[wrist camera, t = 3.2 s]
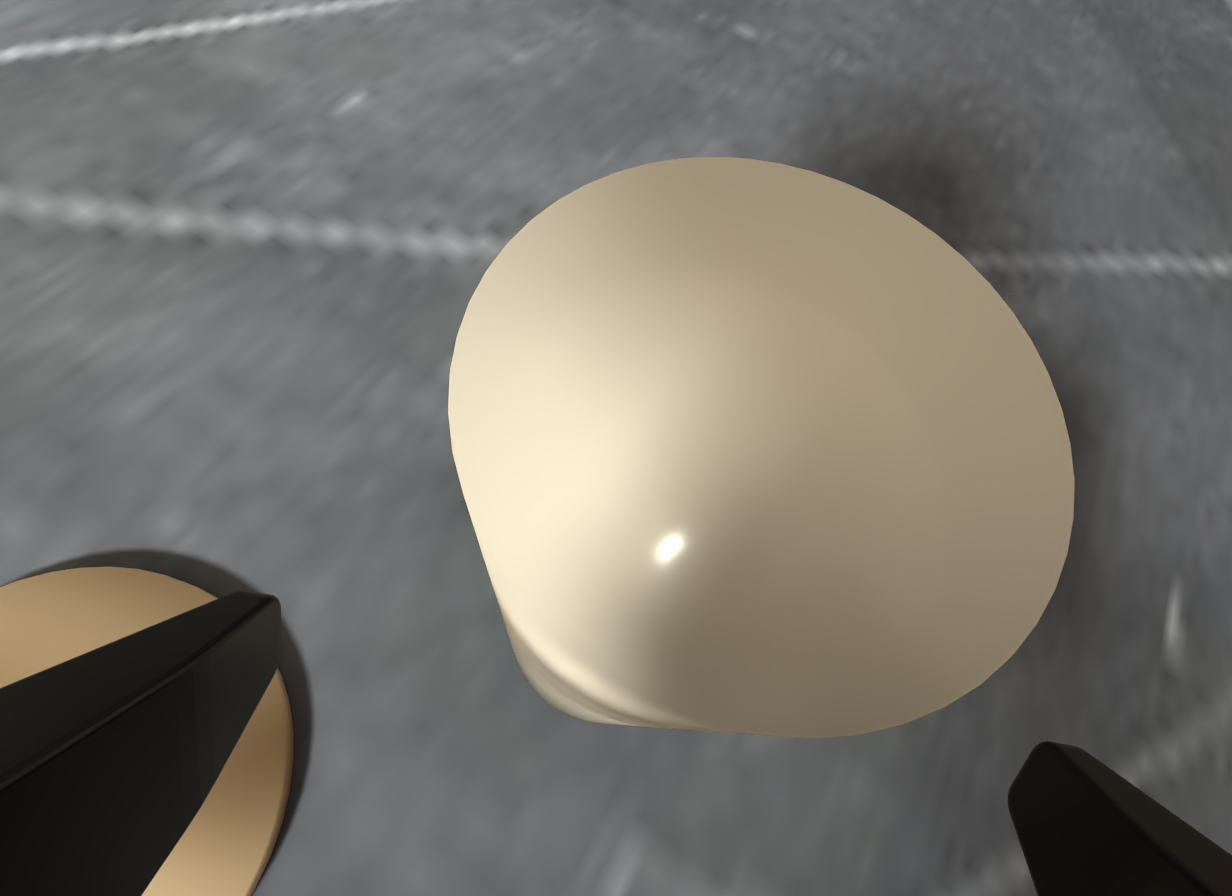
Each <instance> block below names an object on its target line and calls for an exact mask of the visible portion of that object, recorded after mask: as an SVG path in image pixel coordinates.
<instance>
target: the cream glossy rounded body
mask: <svg viewBox="0 0 1232 896" xmlns="http://www.w3.org/2000/svg"><path fill="white" fill-rule="evenodd" d="M448 415H449V424H450V434H451V443H452V452H453V456H454V460H455V464H456V468H457V472H458V476H459V479H460V483H461V487H462V491H463V495H464V498H465V501H466V504H467V507H468V510H469V513H470V517H471V520H472V523H473V526H474V529H475V532H476V535H477V538H478V541H479V545H480V548H481V551H482V554H483V557H484V560H485V563H486V566H487V569H488V573H489V576H490V579H491V582H492V585H493V588H494V591H495V594H496V597H497V601H498V604H499V607H500V610H501V613H502V616H503V619H504V622H505V626H506V629H507V632H508V635H509V638H510V641H511V644H512V647H513V650H514V654H515V657H516V659H517V661H518V664H519V666H520V669H521V670H522V672H523V674H524V676H525V677H526V679H527V681H528V682H529V683H530V685H531V686H532V687H533V688H534V690H535V691H536V692H537V693H538V694H539V695H540V696H541V697H542V698H543V699H544V700H545V701H547V702H548V703H549V704H551V705H552V706H553V707H555V708H556V709H558V710H560V711H561V712H563V713H565V714H567V715H569V716H572V717H575V718H577V719H580V720H584V721H589V722H593V723H607V724H620V725H633V726H646V727H659V728H672V729H685V730H698V731H711V732H724V733H737V734H750V735H763V736H777V737H791V738H805V739H815V738H828V737H841V736H854V735H861V734H865V733H870V732H874V731H878V730H882V729H886V728H890V727H895V726H899V725H903V724H906V723H908V722H911V721H913V720H915V719H918V718H920V717H923V716H925V715H927V714H930V713H932V712H934V711H937V710H939V709H942V708H944V707H946V706H948V705H949V704H951V703H952V702H954V701H955V700H957V699H959V698H960V697H962V696H963V695H965V694H966V693H968V692H970V691H971V690H973V689H974V688H976V687H977V686H979V685H981V684H982V683H983V682H984V681H985V680H986V679H987V678H989V677H990V676H991V675H992V674H993V673H994V672H995V671H996V670H997V669H999V668H1000V667H1001V666H1002V665H1003V664H1004V663H1005V662H1006V661H1007V660H1008V659H1010V658H1011V657H1012V656H1013V654H1014V653H1015V652H1016V650H1017V649H1018V648H1019V647H1020V645H1021V644H1022V643H1023V642H1024V640H1025V639H1026V638H1027V636H1028V635H1029V634H1030V633H1031V631H1032V630H1033V629H1034V627H1035V626H1036V625H1037V623H1038V621H1039V619H1040V617H1041V616H1042V614H1043V612H1044V610H1045V608H1046V606H1047V604H1048V602H1049V601H1050V599H1051V597H1052V595H1053V593H1054V591H1055V589H1056V586H1057V583H1058V580H1059V577H1060V574H1061V571H1062V568H1063V565H1064V562H1065V559H1066V557H1067V553H1068V547H1069V541H1070V535H1071V530H1072V524H1073V518H1074V483H1075V480H1074V471H1073V462H1072V453H1071V445H1070V440H1069V436H1068V432H1067V428H1066V424H1065V420H1064V416H1063V412H1062V408H1061V405H1060V402H1059V400H1058V397H1057V395H1056V392H1055V389H1054V387H1053V384H1052V381H1051V379H1050V376H1049V373H1048V372H1047V370H1046V368H1045V366H1044V364H1043V362H1042V360H1041V358H1040V356H1039V354H1038V352H1037V350H1036V348H1035V346H1034V344H1033V342H1032V341H1031V339H1030V338H1029V336H1028V334H1027V333H1026V331H1025V330H1024V328H1023V327H1022V325H1021V324H1020V322H1019V321H1018V319H1017V318H1016V316H1015V315H1014V313H1013V312H1012V310H1011V309H1010V308H1009V307H1008V305H1007V304H1006V303H1005V302H1004V300H1003V299H1002V298H1001V297H1000V295H999V294H998V293H997V292H996V291H995V289H994V288H993V287H992V286H991V284H990V283H989V282H988V281H987V280H986V279H985V278H984V277H983V276H982V275H981V274H980V273H979V272H978V271H977V270H976V269H975V268H974V267H973V266H972V265H971V264H970V263H969V262H968V261H967V260H966V259H965V258H964V257H963V256H962V255H961V254H959V253H958V252H957V251H956V250H955V249H953V248H952V247H951V246H950V245H949V244H948V243H946V242H945V241H944V240H943V239H942V238H940V237H939V236H938V235H937V234H935V233H934V232H932V231H931V230H930V229H928V228H927V227H925V226H924V225H922V224H921V223H919V222H918V221H917V220H915V219H914V218H912V217H911V216H909V215H908V214H906V213H904V212H903V211H901V210H899V209H897V208H896V207H894V206H892V205H890V204H888V203H887V202H885V201H883V200H881V199H880V198H878V197H876V196H874V195H871V194H869V193H867V192H865V191H863V190H860V189H858V188H856V187H854V186H851V185H849V184H847V183H845V182H842V181H839V180H836V179H833V178H830V177H827V176H824V175H821V174H819V173H816V172H813V171H809V170H805V169H800V168H796V167H792V166H788V165H784V164H780V163H774V162H767V161H760V160H753V159H746V158H726V157H701V158H682V159H674V160H668V161H662V162H655V163H649V164H645V165H641V166H638V167H634V168H630V169H627V170H623V171H619V172H616V173H613V174H611V175H608V176H606V177H603V178H601V179H599V180H596V181H594V182H591V183H589V184H586V185H584V186H583V187H581V188H579V189H577V190H575V191H574V192H572V193H570V194H568V195H566V196H565V197H563V198H561V199H559V200H558V201H556V202H555V203H553V204H552V205H551V206H549V207H548V208H547V209H545V210H544V211H543V212H541V213H540V214H539V215H537V216H536V217H535V218H533V219H532V220H531V221H530V222H529V223H528V224H527V225H525V226H524V227H523V228H522V229H521V230H520V231H519V232H518V233H517V234H516V235H515V236H514V237H513V238H512V239H511V240H510V241H509V242H508V243H507V244H506V246H505V247H504V248H503V250H502V251H501V252H500V254H499V255H498V256H497V258H496V259H495V260H494V261H493V263H492V264H491V265H490V267H489V268H488V269H487V271H486V272H485V274H484V276H483V278H482V280H481V282H480V283H479V285H478V287H477V289H476V291H475V293H474V294H473V296H472V298H471V300H470V302H469V304H468V307H467V310H466V313H465V315H464V318H463V321H462V324H461V326H460V329H459V332H458V335H457V339H456V344H455V349H454V354H453V359H452V364H451V369H450V381H449V404H448Z"/></svg>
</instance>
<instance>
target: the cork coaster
mask: <svg viewBox="0 0 1232 896" xmlns="http://www.w3.org/2000/svg"><path fill="white" fill-rule="evenodd" d="M216 599H218V598H217V597H215V596H213V595H212V594H210V593H208V592H206V591H204V590H203V589H201V588H198V587H196V586H193V585H191V584H188V583H185V582H183V581H180V580H177V579H175V578H172V577H169V576H167V575H163V574H159V573H154V572H150V571H145V570H141V569H133V568H122V567H82V568H75V569H68V570H61V571H54V572H49V573H45V574H41V575H37V576H34V577H30V578H26V579H22V580H19V581H16V582H13V583H10V584H8V585H5V586H2V587H0V688H2V687H4V686H7V685H9V684H11V683H14V682H16V681H19V680H21V679H24V678H26V677H28V676H31V675H33V674H36V673H38V672H41V671H43V670H45V669H48V668H50V667H53V666H55V665H58V664H60V663H62V662H65V661H67V660H70V659H72V658H75V657H77V656H79V655H82V654H84V653H87V652H89V651H92V650H94V649H96V648H99V647H101V646H104V645H106V644H109V643H111V642H113V641H116V640H118V639H121V638H123V637H126V636H128V635H131V634H133V633H135V632H138V631H140V630H143V629H145V628H148V627H150V626H152V625H155V624H157V623H160V622H162V621H165V620H167V619H169V618H172V617H174V616H177V615H179V614H182V613H184V612H186V611H189V610H191V609H194V608H196V607H199V606H201V605H203V604H206V603H208V602H211V601H213V600H216ZM293 763H294V729H293V722H292V715H291V708H290V702H289V698H288V695H287V691H286V688H285V684H284V681H283V677H282V675H281V673H280V671H279V669H278V667H277V670H276V672H275V675H274V677H273V679H272V680H271V682H270V684H269V686H268V688H267V689H266V691H265V693H264V695H263V697H262V699H261V700H260V702H259V704H258V706H257V708H256V709H255V711H254V713H253V715H252V717H251V719H250V720H249V722H248V724H247V726H246V728H245V729H244V731H243V733H242V735H241V737H240V739H239V740H238V742H237V744H236V746H235V748H234V750H233V751H232V753H231V755H230V757H229V759H228V760H227V762H226V764H225V766H224V768H223V770H222V771H221V773H220V775H219V777H218V779H217V780H216V782H215V784H214V786H213V788H212V789H211V791H210V793H209V794H208V796H207V798H206V800H205V801H204V803H203V805H202V807H201V808H200V810H199V811H198V813H197V814H196V816H195V817H194V819H193V820H192V822H191V823H190V825H189V827H188V828H187V830H186V831H185V833H184V834H183V836H182V837H181V838H180V840H179V841H178V843H177V844H176V846H175V847H174V849H173V850H172V852H171V853H170V855H169V856H168V858H167V859H166V860H165V862H164V863H163V865H162V866H161V868H160V869H159V871H158V872H157V874H156V875H155V877H154V878H153V879H152V881H151V882H150V884H149V885H148V887H147V888H146V890H145V891H144V893H143V894H142V896H251V895H252V893H253V891H254V890H255V888H256V885H257V883H258V881H259V879H260V877H261V875H262V873H263V871H264V869H265V867H266V865H267V863H268V861H269V859H270V856H271V854H272V851H273V848H274V845H275V843H276V840H277V837H278V834H279V832H280V829H281V826H282V823H283V819H284V815H285V811H286V806H287V802H288V798H289V794H290V788H291V780H292V771H293Z"/></svg>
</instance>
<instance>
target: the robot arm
mask: <svg viewBox="0 0 1232 896" xmlns="http://www.w3.org/2000/svg"><path fill="white" fill-rule="evenodd" d="M280 654H281V605H280V602H279V600H278V598H276V597H275V596H273V595H269V594H264V593H259V592H254V591H248V590H239V591H236V592H233V593H230V594H228V595H225V596H223V597H220V598H218V599H216V600H213V601H211V602H208V603H206V604H203V605H201V606H199V607H196V608H194V609H191V610H189V611H186V612H184V613H182V614H179V615H177V616H174V617H172V618H169V619H167V620H165V621H162V622H160V623H157V624H155V625H152V626H150V627H148V628H145V629H143V630H140V631H138V632H135V633H133V634H131V635H128V636H126V637H123V638H121V639H118V640H116V641H113V642H111V643H109V644H106V645H104V646H101V647H99V648H96V649H94V650H92V651H89V652H87V653H84V654H82V655H79V656H77V657H75V658H72V659H70V660H67V661H65V662H62V663H60V664H58V665H55V666H53V667H50V668H48V669H45V670H43V671H41V672H38V673H36V674H33V675H31V676H28V677H26V678H24V679H21V680H19V681H16V682H14V683H11V684H9V685H7V686H4V687H2V688H0V896H142V894H143V893H144V891H145V890H146V888H147V887H148V885H149V884H150V882H151V881H152V879H153V878H154V877H155V875H156V874H157V872H158V871H159V869H160V868H161V866H162V865H163V863H164V862H165V860H166V859H167V858H168V856H169V855H170V853H171V852H172V850H173V849H174V847H175V846H176V844H177V843H178V841H179V840H180V838H181V837H182V836H183V834H184V833H185V831H186V830H187V828H188V827H189V825H190V823H191V822H192V820H193V819H194V817H195V816H196V814H197V813H198V811H199V810H200V808H201V807H202V805H203V803H204V801H205V800H206V798H207V796H208V794H209V793H210V791H211V789H212V788H213V786H214V784H215V782H216V780H217V779H218V777H219V775H220V773H221V771H222V770H223V768H224V766H225V764H226V762H227V760H228V759H229V757H230V755H231V753H232V751H233V750H234V748H235V746H236V744H237V742H238V740H239V739H240V737H241V735H242V733H243V731H244V729H245V728H246V726H247V724H248V722H249V720H250V719H251V717H252V715H253V713H254V711H255V709H256V708H257V706H258V704H259V702H260V700H261V699H262V697H263V695H264V693H265V691H266V689H267V688H268V686H269V684H270V682H271V680H272V679H273V677H274V675H275V672H276V670H277V667H278V664H279V660H280ZM1008 806H1009V811H1010V815H1011V818H1012V821H1013V823H1014V826H1015V829H1016V832H1017V835H1018V838H1019V841H1020V844H1021V847H1022V850H1023V853H1024V856H1025V859H1026V862H1027V865H1028V868H1029V871H1030V874H1031V877H1032V880H1033V883H1034V886H1035V889H1036V892H1037V894H1038V896H1232V855H1230V854H1229V853H1228V852H1226V851H1225V850H1223V849H1222V848H1221V847H1219V846H1218V845H1216V844H1215V843H1214V842H1212V841H1211V840H1209V839H1208V838H1207V837H1205V836H1204V835H1202V834H1201V833H1200V832H1198V831H1197V830H1195V829H1194V828H1193V827H1191V826H1190V825H1188V824H1187V823H1186V822H1184V821H1183V820H1181V819H1180V818H1179V817H1177V816H1176V815H1174V814H1173V813H1172V812H1170V811H1169V810H1167V809H1166V808H1164V807H1163V806H1162V805H1160V804H1159V803H1157V802H1156V801H1155V800H1153V799H1152V798H1150V797H1149V796H1148V795H1146V794H1145V793H1143V792H1142V791H1141V790H1139V789H1138V788H1136V787H1135V786H1134V785H1132V784H1131V783H1129V782H1128V781H1127V780H1125V779H1124V778H1122V777H1121V776H1120V775H1118V774H1117V773H1115V772H1114V771H1113V770H1111V769H1110V768H1108V767H1107V766H1106V765H1104V764H1103V763H1101V762H1100V761H1098V760H1097V759H1096V758H1094V757H1093V756H1091V755H1090V754H1089V753H1087V752H1086V751H1084V750H1083V749H1080V748H1078V747H1075V746H1071V745H1066V744H1060V743H1055V742H1049V741H1046V742H1041V743H1039V744H1038V745H1036V746H1035V747H1034V748H1033V750H1032V751H1031V753H1030V755H1029V756H1028V758H1027V760H1026V761H1025V763H1024V765H1023V766H1022V768H1021V770H1020V771H1019V773H1018V775H1017V776H1016V778H1015V780H1014V781H1013V783H1012V785H1011V787H1010V789H1009V793H1008Z"/></svg>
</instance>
